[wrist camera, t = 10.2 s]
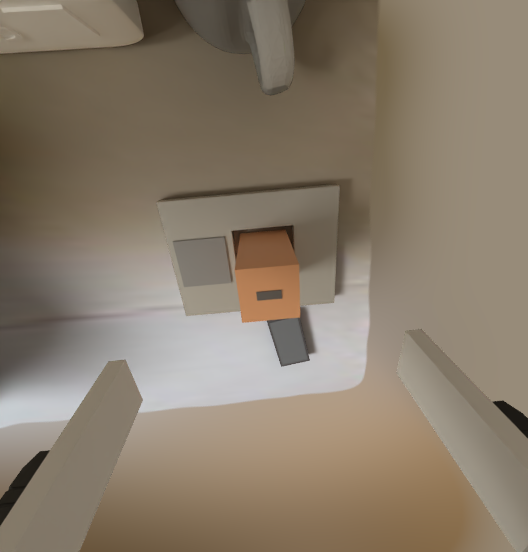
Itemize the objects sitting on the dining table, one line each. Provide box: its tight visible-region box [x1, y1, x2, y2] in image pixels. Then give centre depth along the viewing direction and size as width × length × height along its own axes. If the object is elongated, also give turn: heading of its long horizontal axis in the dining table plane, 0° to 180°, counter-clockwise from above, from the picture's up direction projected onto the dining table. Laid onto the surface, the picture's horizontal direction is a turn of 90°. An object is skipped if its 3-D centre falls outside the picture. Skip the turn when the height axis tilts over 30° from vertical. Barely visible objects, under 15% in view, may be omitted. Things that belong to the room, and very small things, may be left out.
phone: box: [267, 318, 310, 367], centre depth 30 cm, size 4×7×1 cm, turn 15°
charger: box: [235, 229, 300, 323], centre depth 22 cm, size 4×4×9 cm
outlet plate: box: [156, 184, 340, 316], centre depth 25 cm, size 16×12×1 cm
